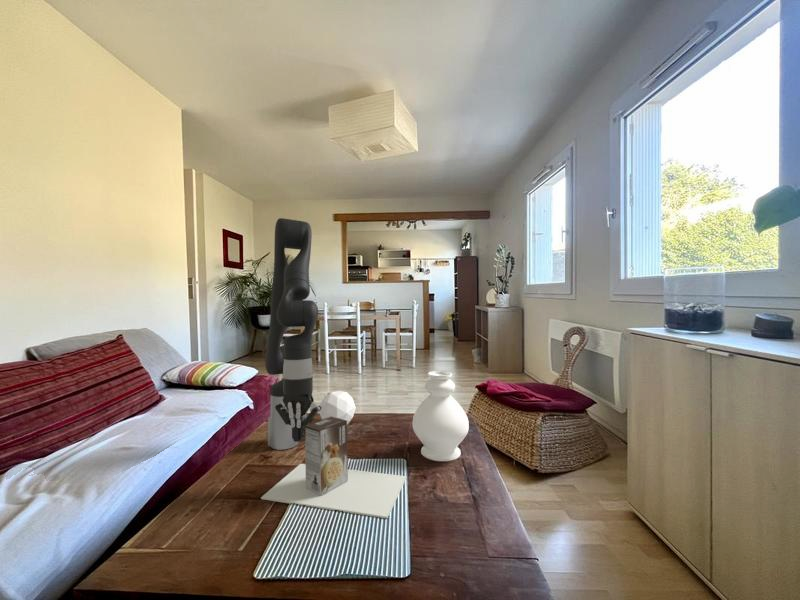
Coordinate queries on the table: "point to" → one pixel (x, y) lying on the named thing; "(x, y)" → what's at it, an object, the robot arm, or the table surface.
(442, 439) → the decorative vase
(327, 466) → the coffee box
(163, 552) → the table surface
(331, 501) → the mat
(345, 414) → the geodesic sphere
